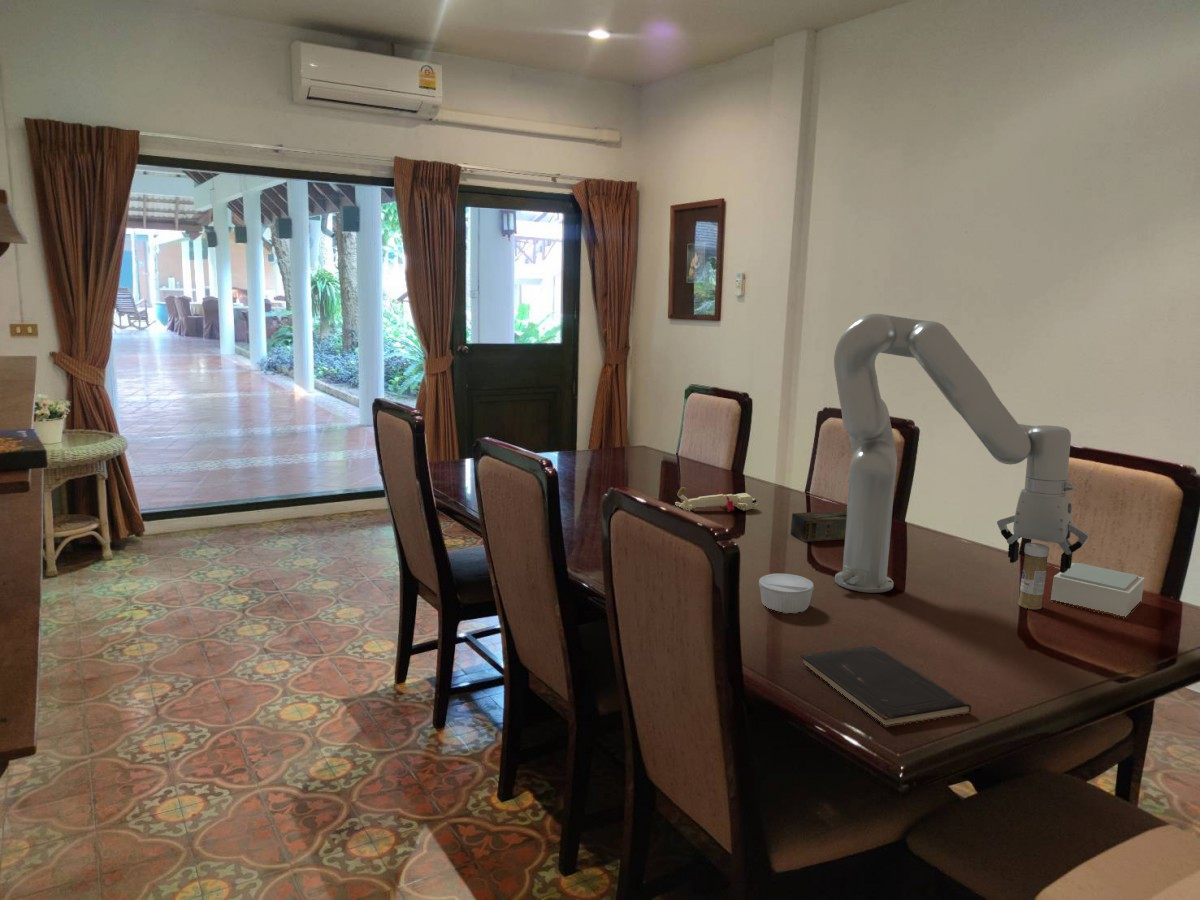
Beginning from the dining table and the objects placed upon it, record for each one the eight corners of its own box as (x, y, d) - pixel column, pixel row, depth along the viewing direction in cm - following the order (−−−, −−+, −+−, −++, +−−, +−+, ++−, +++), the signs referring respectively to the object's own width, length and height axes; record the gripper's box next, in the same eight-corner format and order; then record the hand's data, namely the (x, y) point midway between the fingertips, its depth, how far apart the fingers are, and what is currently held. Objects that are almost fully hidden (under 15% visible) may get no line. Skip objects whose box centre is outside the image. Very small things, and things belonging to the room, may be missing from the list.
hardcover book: (883, 732, 123) (884, 718, 123) (799, 667, 144) (800, 655, 144) (970, 717, 128) (971, 703, 128) (876, 656, 150) (877, 644, 149)
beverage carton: (867, 539, 223) (868, 515, 222) (802, 543, 218) (804, 519, 217) (850, 531, 231) (852, 508, 230) (788, 535, 226) (789, 511, 225)
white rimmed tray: (1125, 618, 169) (1129, 590, 168) (1050, 600, 178) (1053, 574, 177) (1141, 602, 179) (1145, 575, 178) (1069, 585, 188) (1072, 560, 187)
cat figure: (682, 521, 243) (762, 511, 248) (681, 492, 241) (762, 482, 246) (672, 512, 252) (749, 503, 257) (671, 484, 251) (749, 475, 256)
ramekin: (772, 618, 165) (774, 593, 165) (748, 598, 176) (749, 575, 175) (822, 613, 168) (824, 589, 168) (795, 595, 179) (797, 571, 178)
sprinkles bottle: (1013, 602, 177) (1020, 542, 174) (1033, 602, 177) (1040, 541, 175) (1026, 610, 172) (1033, 548, 170) (1047, 610, 173) (1054, 548, 170)
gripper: (1098, 489, 167) (1089, 571, 170) (1007, 477, 179) (1001, 554, 181) (1087, 495, 161) (1079, 579, 164) (994, 483, 173) (988, 561, 176)
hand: (1038, 566), depth 173 cm, fingers open, 9 cm apart
